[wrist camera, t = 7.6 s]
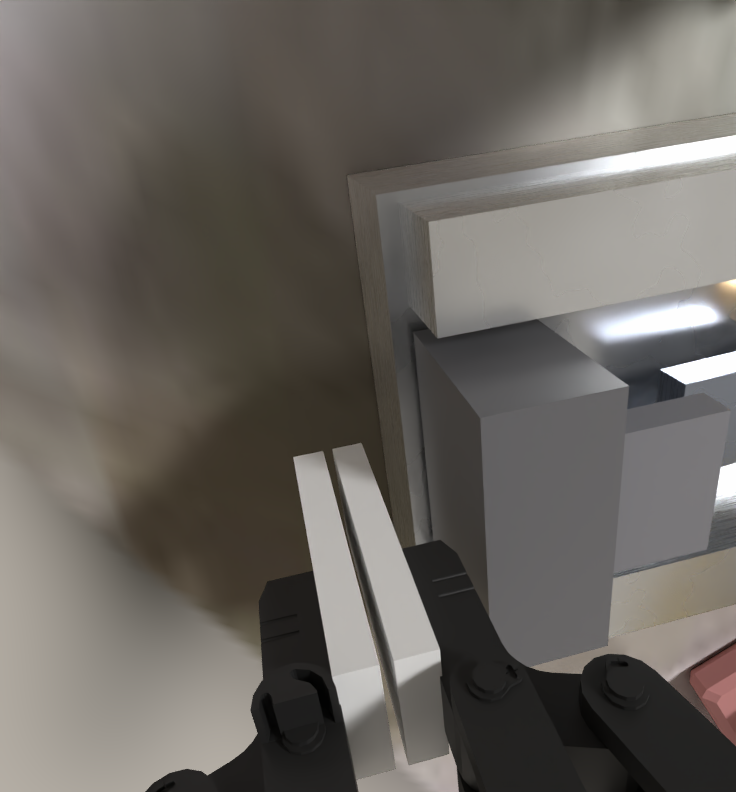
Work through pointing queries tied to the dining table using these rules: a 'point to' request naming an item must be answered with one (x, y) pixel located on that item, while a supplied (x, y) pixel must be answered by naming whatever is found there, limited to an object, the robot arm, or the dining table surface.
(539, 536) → the grey slider block
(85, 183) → the dining table surface
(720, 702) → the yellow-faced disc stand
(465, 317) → the rail slide plate
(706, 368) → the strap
